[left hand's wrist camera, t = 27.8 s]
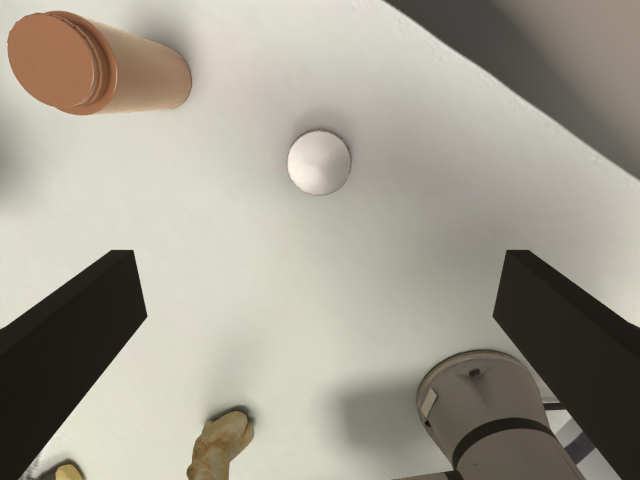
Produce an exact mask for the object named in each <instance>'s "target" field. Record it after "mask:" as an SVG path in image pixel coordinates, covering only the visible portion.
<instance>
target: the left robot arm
mask: <svg viewBox="0 0 640 480" xmlns="http://www.w3.org/2000/svg"><path fill="white" fill-rule="evenodd" d="M146 318H147V312H146V307H145V303H144V298H143V293H142V289H141V284H140V279H139V274H138V270H137V265H136V260H135V256H134V251H133V250H111V251H109V252H108V253H107V254H105V255H104V256H103V257H101V258H100V259H98V260H97V261H96V262H94V263H93V264H92V265H90V266H89V267H87V268H86V269H85V270H83V271H82V272H80V273H79V274H78V275H76V276H75V277H74V278H72V279H71V280H69V281H68V282H67V283H65V284H64V285H63V286H61V287H60V288H58V289H57V290H56V291H54V292H53V293H51V294H50V295H49V296H47V297H46V298H45V299H43V300H42V301H40V302H39V303H38V304H36V305H35V306H34V307H32V308H31V309H29V310H28V311H27V312H25V313H24V314H22V315H21V316H20V317H18V318H17V319H16V320H14V321H13V322H11V323H10V324H9V325H7V326H6V327H4V328H2V329H0V480H18V479H19V478H20V477H21V475H22V474H23V473H24V472H25V470H26V469H27V468H28V467H29V465H30V464H31V463H32V462H33V460H34V459H35V458H36V456H37V455H38V454H39V453H40V451H41V450H42V449H43V448H44V446H45V445H46V444H47V443H48V441H49V440H50V439H51V438H52V436H53V435H54V434H55V433H56V431H57V430H58V429H59V427H60V426H61V425H62V424H63V422H64V421H65V420H66V419H67V417H68V416H69V415H70V414H71V412H72V411H73V410H74V409H75V407H76V406H77V405H78V404H79V402H80V401H81V400H82V398H83V397H84V396H85V395H86V393H87V392H88V391H89V390H90V388H91V387H92V386H93V385H94V383H95V382H96V381H97V380H98V378H99V377H100V376H101V375H102V373H103V372H104V371H105V369H106V368H107V367H108V366H109V364H110V363H111V362H112V361H113V359H114V358H115V357H116V356H117V354H118V353H119V352H120V351H121V349H122V348H123V347H124V346H125V344H126V343H127V342H128V340H129V339H130V338H131V337H132V335H133V334H134V333H135V332H136V330H137V329H138V328H139V327H140V325H141V324H142V323H143V322H144V320H145V319H146ZM493 318H494V319H495V320H496V322H497V323H498V324H499V325H500V327H501V328H502V329H503V330H504V332H505V333H506V334H507V335H508V337H509V338H510V339H511V340H512V342H513V343H514V344H515V346H516V347H517V348H518V349H519V351H520V352H521V353H522V354H523V356H524V357H525V358H526V359H527V361H528V362H529V363H530V364H531V366H532V367H533V368H534V369H535V371H536V372H537V373H538V375H539V376H540V377H541V378H542V380H543V381H544V382H545V383H546V385H547V386H548V387H549V388H550V390H551V391H552V392H553V393H554V395H555V396H556V397H557V398H558V400H559V401H560V402H561V403H542V400H541V397H540V393H539V389H538V387H537V385H536V383H535V381H534V379H533V378H532V376H531V375H530V373H529V372H528V371H527V369H526V368H525V367H524V366H523V365H522V364H521V363H520V362H519V361H517V360H516V359H514V358H513V357H511V356H508V355H506V354H503V353H499V352H494V351H473V352H467V353H463V354H459V355H457V356H454V357H452V358H449V359H447V360H446V361H444V362H442V363H441V364H439V365H438V366H436V367H435V368H434V369H433V370H432V371H431V372H430V373H429V374H428V375H427V376H426V377H425V379H424V380H423V382H422V383H421V385H420V388H419V390H418V394H417V409H418V412H419V415H420V418H421V421H422V423H423V425H424V427H425V429H426V431H427V432H428V434H429V435H430V436H431V438H432V439H433V440H434V442H435V443H436V444H437V446H438V447H439V448H440V450H441V451H442V452H443V454H444V455H445V456H446V458H447V459H448V460H449V462H450V463H451V464H452V467H453V469H454V471H448V472H440V473H434V474H428V475H421V476H414V477H407V478H400V479H393V480H586V479H585V477H584V476H583V475H582V473H581V472H580V471H579V469H578V468H577V466H576V465H575V463H574V462H573V461H572V459H571V458H570V456H569V455H568V454H567V452H566V451H565V449H564V448H563V447H562V445H561V444H560V442H559V441H558V440H557V438H556V437H555V435H554V434H553V432H552V431H551V429H550V426H549V423H548V420H547V416H546V413H545V410H564V409H566V410H567V411H568V412H569V414H570V415H571V416H572V417H573V419H574V420H575V421H576V422H577V424H578V425H579V426H580V427H581V429H582V430H583V431H584V433H585V434H586V435H587V436H588V438H589V439H590V440H591V441H592V443H593V444H594V445H595V446H596V448H597V449H598V450H599V451H600V453H601V454H602V455H603V456H604V458H605V459H606V460H607V462H608V463H609V464H610V465H611V467H612V468H613V469H614V470H615V472H616V473H617V474H618V475H619V477H620V478H621V479H622V480H640V328H639V327H637V326H635V325H633V324H631V323H629V322H627V321H626V320H624V319H623V318H622V317H620V316H619V315H618V314H616V313H615V312H613V311H612V310H611V309H609V308H608V307H606V306H605V305H604V304H602V303H601V302H600V301H598V300H597V299H595V298H594V297H593V296H591V295H590V294H589V293H587V292H586V291H584V290H583V289H582V288H580V287H579V286H577V285H576V284H575V283H573V282H572V281H571V280H569V279H568V278H566V277H565V276H564V275H562V274H561V273H560V272H558V271H557V270H555V269H554V268H553V267H551V266H550V265H548V264H547V263H546V262H544V261H543V260H542V259H540V258H539V257H537V256H536V255H535V254H533V253H532V252H531V251H529V250H507V251H506V256H505V260H504V265H503V270H502V274H501V279H500V284H499V289H498V293H497V298H496V303H495V307H494V312H493Z"/></svg>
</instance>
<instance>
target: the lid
mask: <svg viewBox="0 0 640 480" xmlns="http://www.w3.org/2000/svg"><path fill="white" fill-rule="evenodd" d="M348 150H349V149H348V147H346V145H345V143H344V142H343V140H342V138H340V137H338V136H337V135H336V134H334V133H332V131H327V130H320V129H319V130H312V131H307V132H306V133H304V134H302V135H301V136H300V137H297V140H296V141H295V142H294V144H293V145H292V147H290V151H289V154H288V158H287V168H288V172H289V175H290V178H291V179H292V181H293V183H294V184H295V185H296V186H297V187H298V188H299V189H301V190H302V191H304V192H306V193H308V194H312V195H327V194H330V193H332V192H334V191H336V190H338V189H339V188H340V187H341V186H342V185H343V184H344V183H345V181H346V180H347V178H348V176H349V173H350V169H351V157H350V153H349V151H348Z"/></svg>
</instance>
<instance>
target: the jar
mask: <svg viewBox="0 0 640 480" xmlns="http://www.w3.org/2000/svg"><path fill="white" fill-rule="evenodd" d="M7 43H8V57H9V62H10V65H11V68H12V70H13V73H14V75H15V76H16V78H17V80H18V81H19V83H20V84H21V85H22V86H23V88H24V89H25V90H26V91H27V92H28V93H29V94H30V95H32V96H33V97H34V98H36V99H37V100H39V101H41V102H43V103H45V104H47V105H50V106H53V107H55V108H57V109H59V110H61V111H63V112H66V113H69V114H73V115H97V114H111V113H126V112H140V111H155V110H169V109H174V108H176V107H178V106H180V105H181V104H183V103H184V102H185V100H186V99H187V98H188V96H189V93H190V90H191V84H192V80H191V74H190V70H189V67H188V65H187V63H186V62H185V60H184V59H183V57H182V56H181V55H180V54H179V53H178V52H177V51H175V50H174V49H172V48H170V47H168V46H166V45H163V44H160V43H157V42H154V41H151V40H148V39H145V38H143V37H140V36H137V35H134V34H131V33H128V32H125V31H122V30H120V29H117V28H114V27H111V26H108V25H105V24H102V23H99V22H96V21H94V20H91V19H88V18H85V17H82V16H79V15H76V14H73V13H70V12H66V11H50V12H46V13H34V14H31V15H28V16H25V17H23V18H22V19H21V20H19V21H18V22H16V23H15V25H14V27H13V28H12V30H11V31H10V32H9V37H8V41H7Z"/></svg>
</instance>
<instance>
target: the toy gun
mask: <svg viewBox="0 0 640 480" xmlns="http://www.w3.org/2000/svg"><path fill="white" fill-rule="evenodd" d="M41 480H82V478H81V476H80V474H79V472H78V471H77V469H76V468H75V467H74V466H73V465H71V464H69V465H64V466H60V467H59V468H58V469H57V470H54V471H52V472H51V473H49V474H47V475H46V476H45V477H43V478H42V479H41Z"/></svg>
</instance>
